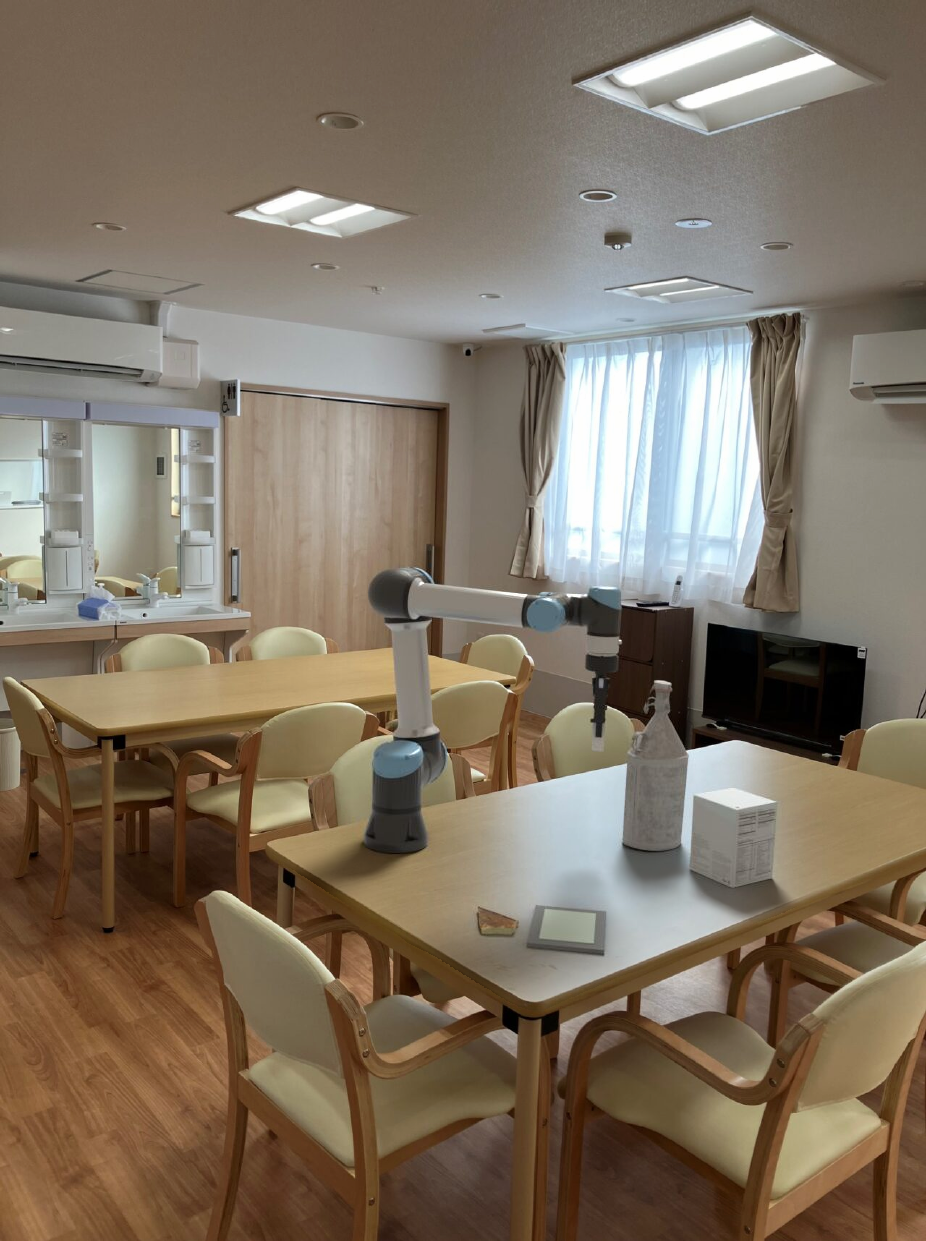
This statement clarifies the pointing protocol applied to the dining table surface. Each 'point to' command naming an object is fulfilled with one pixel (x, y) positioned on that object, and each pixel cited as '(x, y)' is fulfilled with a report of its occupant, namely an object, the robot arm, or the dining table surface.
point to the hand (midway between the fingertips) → (597, 744)
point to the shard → (495, 922)
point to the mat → (568, 929)
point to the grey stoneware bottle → (655, 781)
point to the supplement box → (733, 836)
